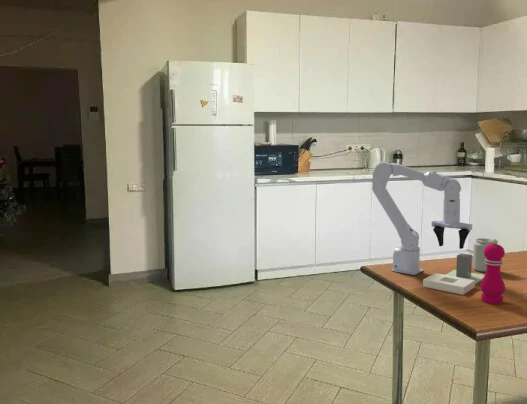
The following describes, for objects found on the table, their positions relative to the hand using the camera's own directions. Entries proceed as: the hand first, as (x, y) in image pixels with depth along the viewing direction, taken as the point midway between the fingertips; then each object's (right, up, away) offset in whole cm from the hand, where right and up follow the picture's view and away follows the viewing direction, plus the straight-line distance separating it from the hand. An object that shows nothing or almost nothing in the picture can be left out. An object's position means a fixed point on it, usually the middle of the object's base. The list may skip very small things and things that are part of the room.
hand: (451, 247), depth 184 cm
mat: (+4, -11, -3) cm, 12 cm away
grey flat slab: (-6, -13, -13) cm, 19 cm away
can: (+15, -10, +6) cm, 18 cm away
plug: (+3, -10, -3) cm, 11 cm away
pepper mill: (+2, -15, -28) cm, 31 cm away
